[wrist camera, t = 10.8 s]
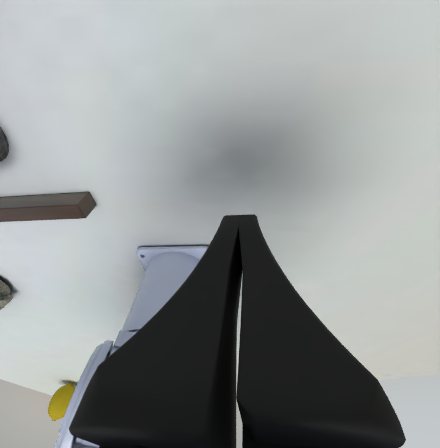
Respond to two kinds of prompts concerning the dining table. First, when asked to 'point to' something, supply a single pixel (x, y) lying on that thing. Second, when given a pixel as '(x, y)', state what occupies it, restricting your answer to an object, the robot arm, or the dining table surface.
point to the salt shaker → (3, 146)
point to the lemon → (60, 401)
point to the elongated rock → (4, 294)
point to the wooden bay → (46, 207)
